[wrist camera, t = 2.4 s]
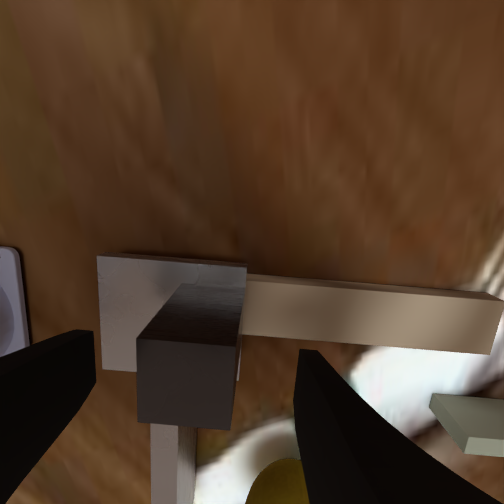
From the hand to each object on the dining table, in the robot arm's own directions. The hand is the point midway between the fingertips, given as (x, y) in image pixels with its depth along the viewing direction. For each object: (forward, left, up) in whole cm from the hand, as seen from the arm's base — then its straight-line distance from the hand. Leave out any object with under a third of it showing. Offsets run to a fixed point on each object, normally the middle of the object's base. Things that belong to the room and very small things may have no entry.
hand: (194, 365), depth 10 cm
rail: (+5, 0, -6) cm, 8 cm away
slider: (-2, -6, -6) cm, 8 cm away
